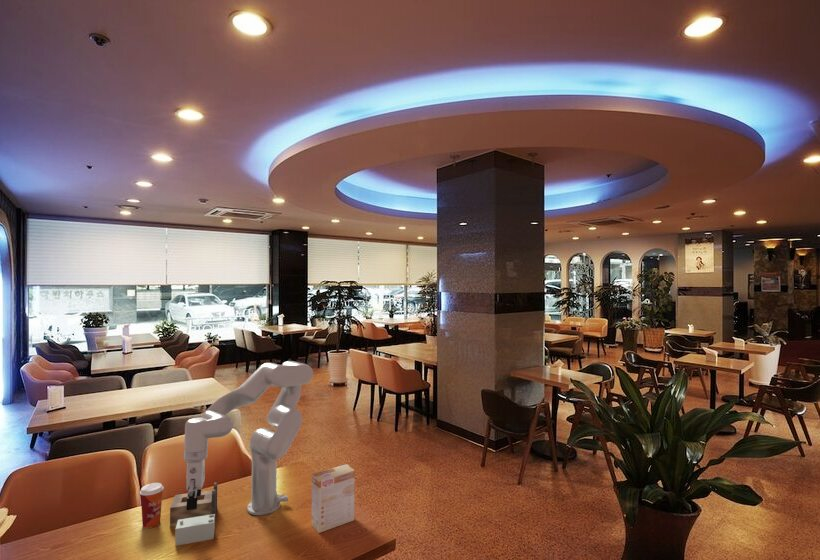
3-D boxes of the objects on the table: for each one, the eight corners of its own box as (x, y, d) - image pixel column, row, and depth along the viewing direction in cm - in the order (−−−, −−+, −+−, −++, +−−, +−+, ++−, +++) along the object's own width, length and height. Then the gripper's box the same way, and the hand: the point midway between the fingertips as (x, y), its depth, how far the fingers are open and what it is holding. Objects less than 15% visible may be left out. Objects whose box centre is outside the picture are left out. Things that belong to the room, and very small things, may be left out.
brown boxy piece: (217, 506, 176) (217, 480, 176) (214, 519, 166) (214, 492, 166) (175, 512, 171) (175, 486, 171) (169, 526, 162) (170, 498, 162)
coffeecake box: (346, 512, 173) (346, 463, 173) (354, 520, 167) (355, 470, 167) (310, 524, 164) (311, 473, 164) (318, 533, 158) (319, 480, 158)
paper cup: (152, 531, 159) (152, 492, 159) (134, 528, 160) (134, 490, 160) (168, 519, 166) (168, 482, 166) (150, 517, 168) (151, 480, 168)
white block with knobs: (214, 530, 160) (214, 511, 160) (213, 539, 155) (213, 520, 155) (177, 536, 156) (178, 517, 156) (175, 546, 150) (175, 526, 150)
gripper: (204, 462, 148) (202, 513, 148) (210, 444, 164) (208, 490, 164) (179, 464, 146) (177, 516, 145) (188, 446, 162) (186, 492, 162)
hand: (193, 502), depth 155 cm, fingers open, 9 cm apart
